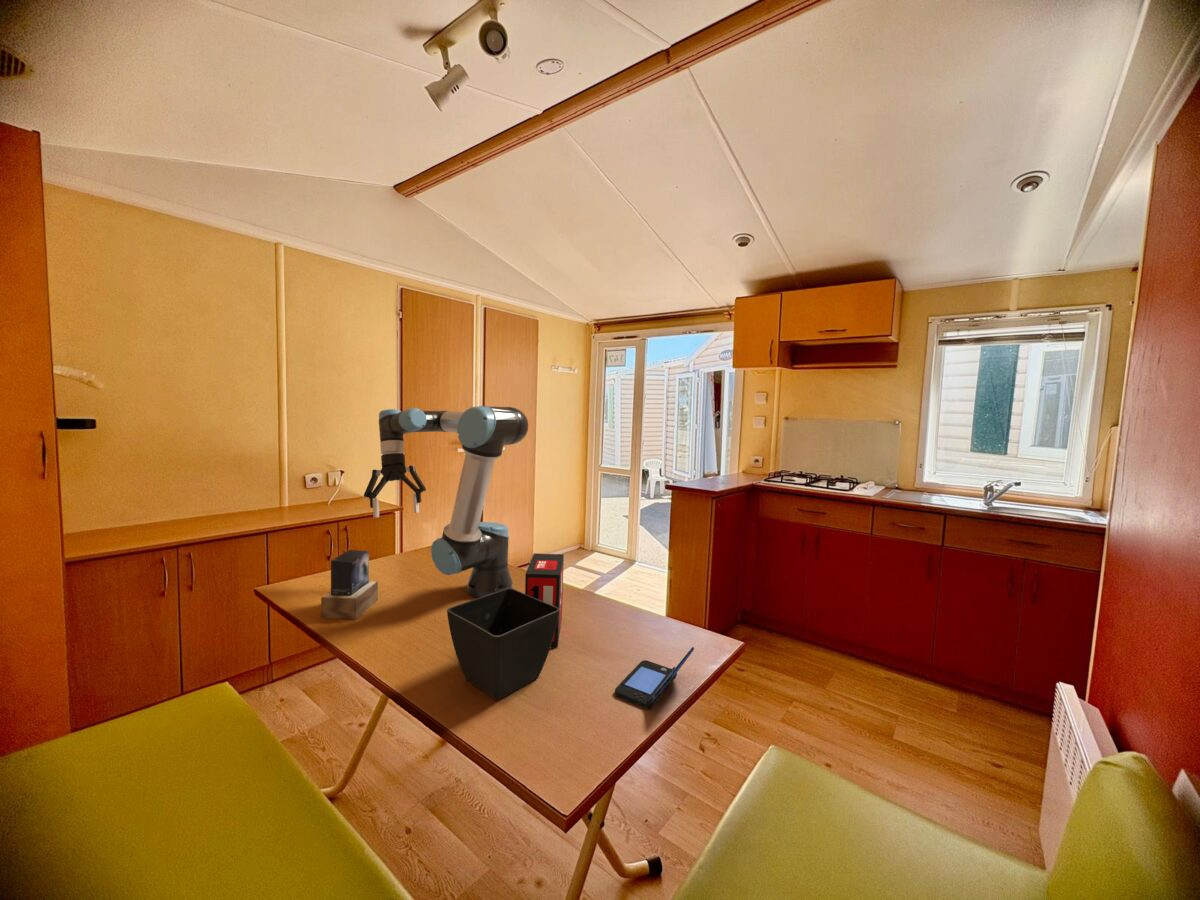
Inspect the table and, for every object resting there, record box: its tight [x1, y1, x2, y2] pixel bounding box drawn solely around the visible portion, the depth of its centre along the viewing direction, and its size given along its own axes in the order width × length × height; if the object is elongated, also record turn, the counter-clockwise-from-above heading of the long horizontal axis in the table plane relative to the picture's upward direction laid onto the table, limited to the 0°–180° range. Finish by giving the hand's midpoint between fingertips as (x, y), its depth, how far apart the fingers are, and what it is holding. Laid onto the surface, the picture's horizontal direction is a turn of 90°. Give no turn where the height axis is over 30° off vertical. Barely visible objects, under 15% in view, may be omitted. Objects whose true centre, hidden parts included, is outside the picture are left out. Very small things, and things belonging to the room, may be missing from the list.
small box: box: [330, 549, 370, 596], centre depth 137 cm, size 11×6×10 cm, turn 0°
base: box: [320, 580, 379, 620], centre depth 138 cm, size 10×13×6 cm
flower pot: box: [446, 587, 560, 700], centre depth 106 cm, size 19×19×17 cm
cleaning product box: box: [524, 552, 565, 649], centre depth 128 cm, size 16×9×20 cm, turn 1°
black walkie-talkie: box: [614, 646, 695, 711], centre depth 104 cm, size 16×13×9 cm
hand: (396, 515), depth 157 cm, fingers open, 13 cm apart
